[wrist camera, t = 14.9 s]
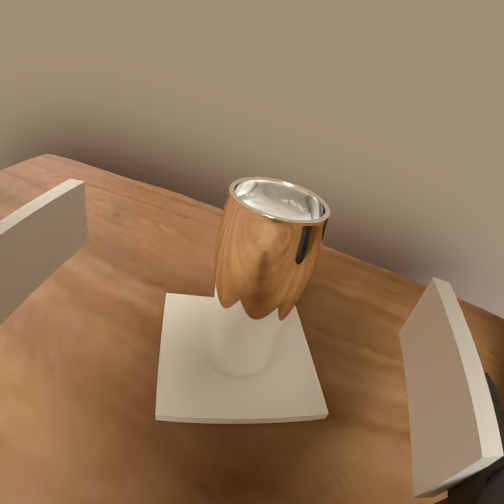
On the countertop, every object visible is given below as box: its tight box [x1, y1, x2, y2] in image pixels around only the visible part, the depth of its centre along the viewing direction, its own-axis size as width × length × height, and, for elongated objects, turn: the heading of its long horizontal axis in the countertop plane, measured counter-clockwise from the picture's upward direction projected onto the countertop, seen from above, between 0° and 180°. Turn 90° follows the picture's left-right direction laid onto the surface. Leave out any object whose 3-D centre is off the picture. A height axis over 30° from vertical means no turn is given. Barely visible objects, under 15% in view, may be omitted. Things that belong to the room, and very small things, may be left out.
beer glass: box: [205, 177, 330, 377], centre depth 24 cm, size 7×7×15 cm
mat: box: [155, 293, 329, 424], centre depth 28 cm, size 14×14×1 cm
